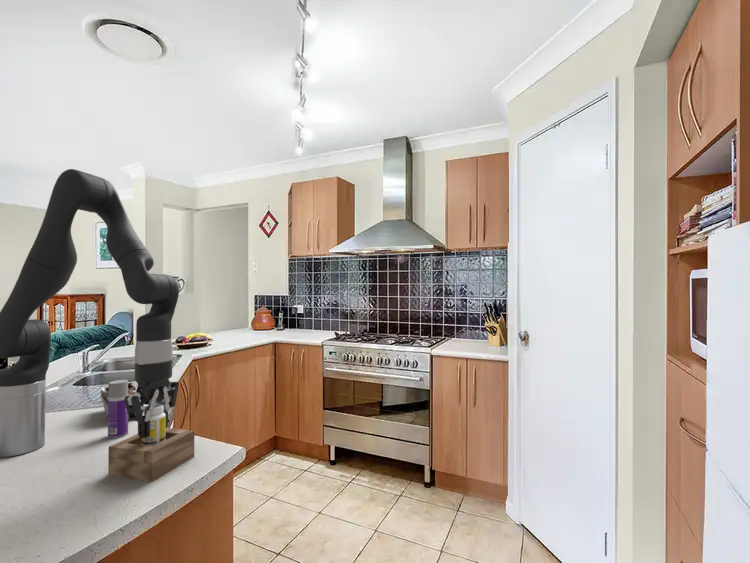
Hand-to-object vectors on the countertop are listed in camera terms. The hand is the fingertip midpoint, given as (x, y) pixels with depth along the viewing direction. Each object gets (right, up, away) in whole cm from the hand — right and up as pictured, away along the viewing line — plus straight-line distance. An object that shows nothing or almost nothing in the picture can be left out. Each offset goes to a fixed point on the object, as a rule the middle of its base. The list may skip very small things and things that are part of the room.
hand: (153, 432), depth 84 cm
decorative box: (-34, -9, +34) cm, 49 cm away
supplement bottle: (0, -3, 0) cm, 3 cm away
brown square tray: (0, -8, 0) cm, 8 cm away
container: (-21, -8, +18) cm, 29 cm away
